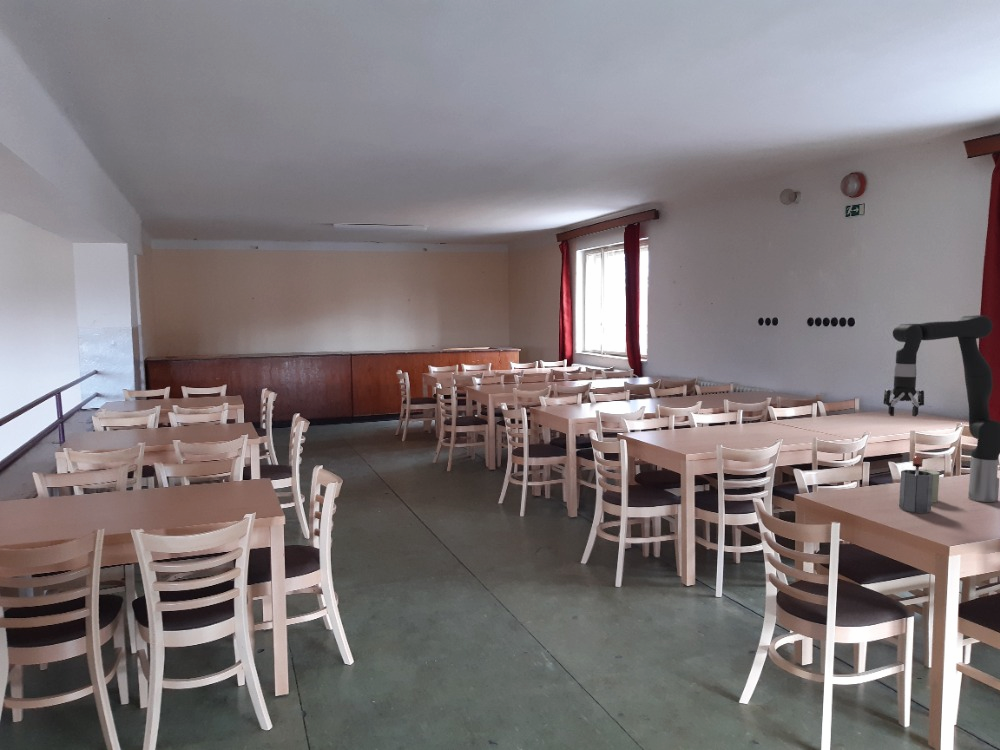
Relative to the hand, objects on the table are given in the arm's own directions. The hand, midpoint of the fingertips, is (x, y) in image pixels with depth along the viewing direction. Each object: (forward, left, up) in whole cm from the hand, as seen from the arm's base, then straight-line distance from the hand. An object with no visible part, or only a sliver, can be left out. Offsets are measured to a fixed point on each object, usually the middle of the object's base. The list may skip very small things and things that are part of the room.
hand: (902, 416), depth 284 cm
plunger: (-2, +9, -35) cm, 36 cm away
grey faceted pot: (-2, +8, -35) cm, 36 cm away
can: (-13, -8, -35) cm, 39 cm away
